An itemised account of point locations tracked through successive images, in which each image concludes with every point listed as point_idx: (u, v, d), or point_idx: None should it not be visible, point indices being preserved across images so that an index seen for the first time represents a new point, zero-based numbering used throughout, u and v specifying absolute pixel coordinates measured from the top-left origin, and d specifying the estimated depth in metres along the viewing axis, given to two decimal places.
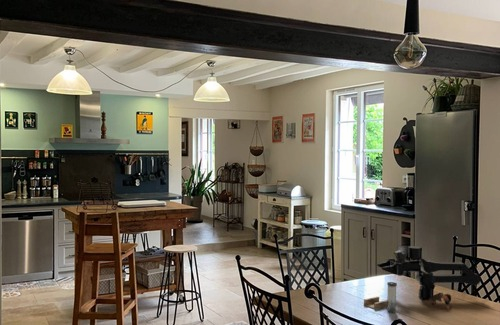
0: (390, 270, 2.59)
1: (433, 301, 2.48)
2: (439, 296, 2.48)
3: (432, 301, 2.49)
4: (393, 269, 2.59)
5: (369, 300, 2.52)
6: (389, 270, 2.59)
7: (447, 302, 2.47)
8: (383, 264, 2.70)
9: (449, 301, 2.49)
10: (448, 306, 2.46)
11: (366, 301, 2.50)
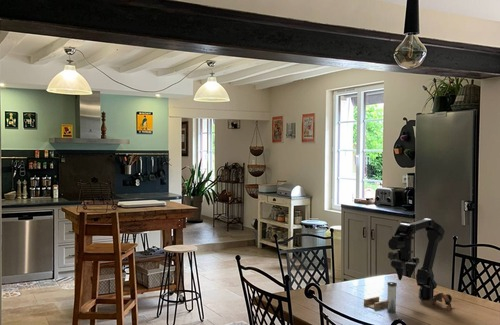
0: (400, 272, 2.49)
1: (434, 301, 2.48)
2: (440, 296, 2.47)
3: (433, 301, 2.48)
4: (400, 269, 2.50)
5: (369, 300, 2.52)
6: (400, 274, 2.49)
7: (448, 302, 2.46)
8: (409, 270, 2.58)
9: (450, 301, 2.48)
10: (449, 306, 2.46)
11: (366, 301, 2.50)
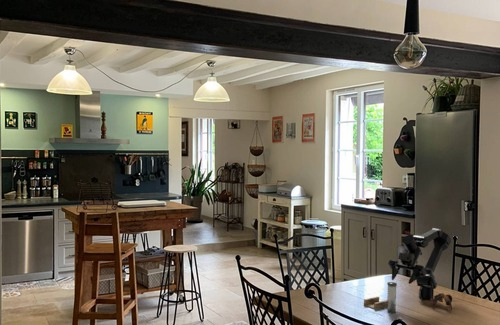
0: (415, 278, 2.45)
1: (434, 302, 2.47)
2: (440, 297, 2.47)
3: (433, 302, 2.48)
4: (415, 275, 2.45)
5: (369, 300, 2.52)
6: (414, 279, 2.44)
7: (448, 303, 2.46)
8: (394, 273, 2.52)
9: (450, 302, 2.48)
10: (449, 307, 2.45)
11: (366, 301, 2.50)
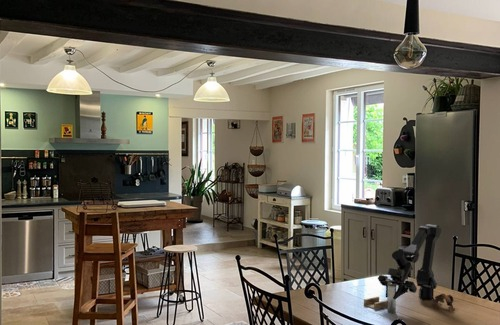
0: (400, 293, 2.40)
1: (435, 302, 2.46)
2: (441, 297, 2.46)
3: (434, 302, 2.47)
4: (401, 290, 2.41)
5: (369, 300, 2.52)
6: (399, 294, 2.40)
7: (450, 303, 2.45)
8: None
9: (451, 302, 2.47)
10: (451, 307, 2.44)
11: (366, 301, 2.50)
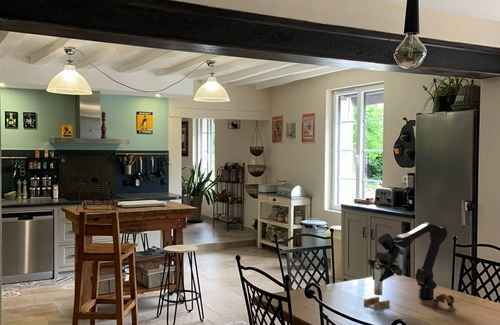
0: (386, 276, 2.48)
1: (436, 303, 2.46)
2: (442, 297, 2.45)
3: (435, 303, 2.46)
4: (387, 273, 2.48)
5: (369, 300, 2.52)
6: (386, 277, 2.48)
7: (450, 303, 2.45)
8: None
9: (452, 302, 2.47)
10: (451, 307, 2.44)
11: (366, 301, 2.50)
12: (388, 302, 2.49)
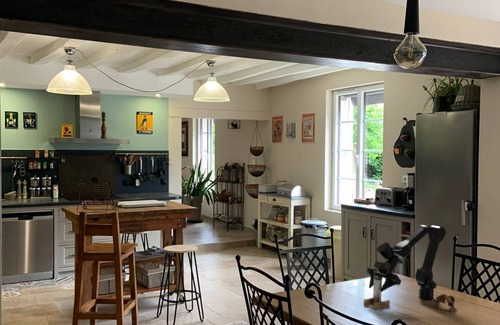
0: (387, 286, 2.47)
1: (437, 303, 2.45)
2: (443, 298, 2.45)
3: (436, 303, 2.46)
4: (388, 283, 2.48)
5: (369, 300, 2.52)
6: (386, 287, 2.47)
7: (451, 304, 2.44)
8: (372, 281, 2.54)
9: (453, 303, 2.46)
10: (452, 308, 2.43)
11: (366, 301, 2.50)
12: (388, 302, 2.49)
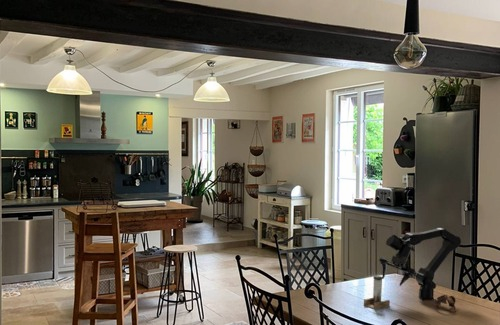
0: (405, 279, 2.55)
1: (438, 303, 2.45)
2: (444, 298, 2.44)
3: (437, 303, 2.45)
4: None
5: (369, 300, 2.52)
6: (404, 281, 2.55)
7: (452, 304, 2.43)
8: (384, 272, 2.59)
9: (454, 303, 2.45)
10: (453, 308, 2.43)
11: (366, 301, 2.50)
12: (388, 302, 2.49)
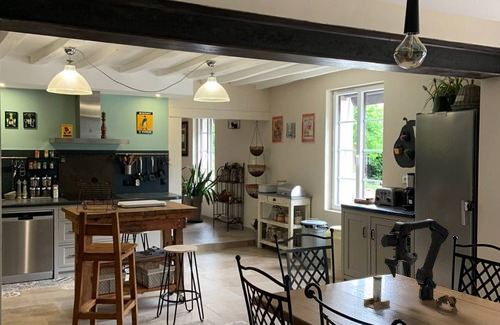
0: None
1: (439, 304, 2.44)
2: (445, 299, 2.43)
3: (438, 304, 2.44)
4: None
5: (369, 300, 2.52)
6: None
7: (453, 305, 2.43)
8: None
9: None
10: (454, 309, 2.42)
11: (366, 301, 2.50)
12: (388, 302, 2.49)
